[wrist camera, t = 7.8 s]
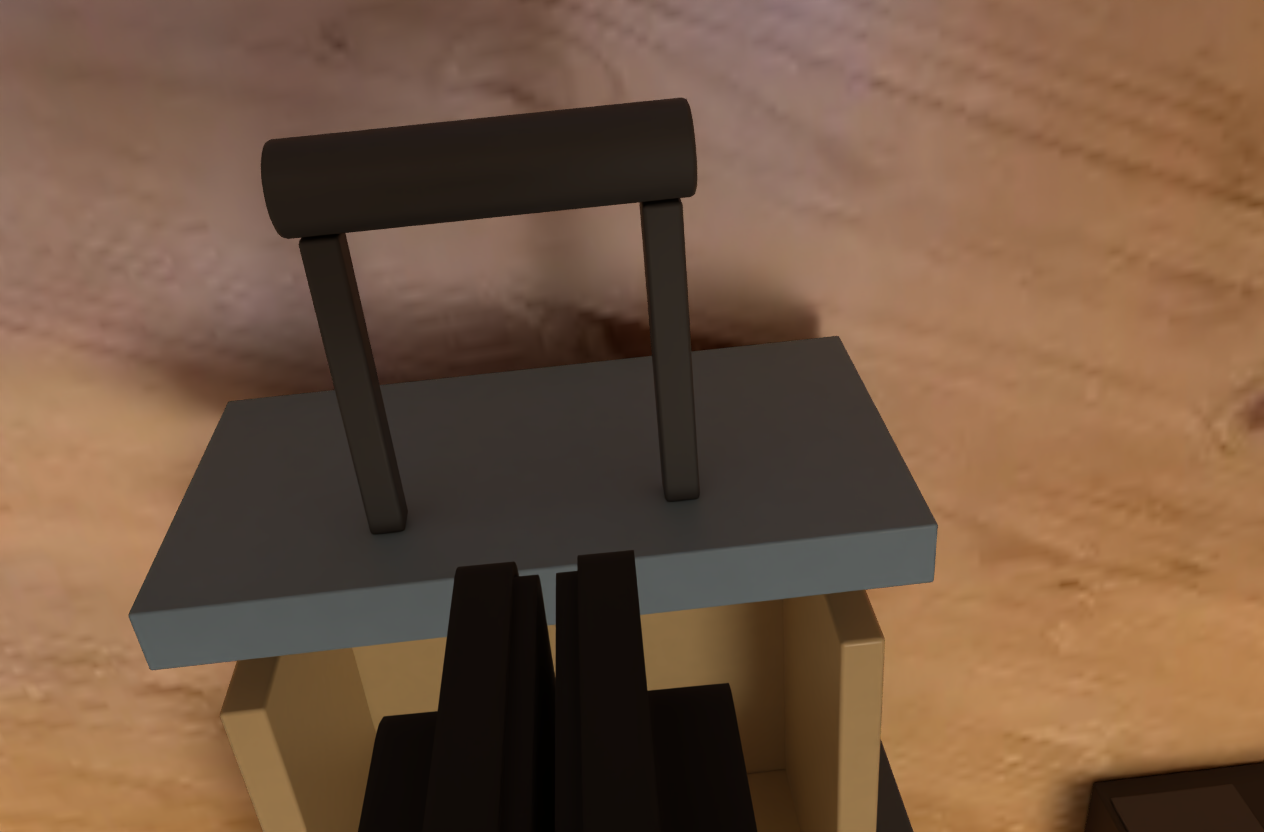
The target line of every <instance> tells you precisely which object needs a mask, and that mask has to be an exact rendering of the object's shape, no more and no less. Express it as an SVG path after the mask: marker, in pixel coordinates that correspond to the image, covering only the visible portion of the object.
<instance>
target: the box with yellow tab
mask: <svg viewBox="0 0 1264 832" xmlns="http://www.w3.org/2000/svg"><path fill="white" fill-rule="evenodd" d="M1085 832H1264V763H1259V764H1250V765H1242V766H1233V767H1225V768H1216V769H1208V770H1199V771H1191V772H1182V773H1174V774H1165V775H1156V776H1148V777H1139V778H1131V779H1122V780H1114V781H1105V782H1097V783H1094V784H1093V789H1092V795H1091V800H1090V805H1089V811H1088V816H1087V821H1086V826H1085Z"/></svg>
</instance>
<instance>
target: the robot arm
mask: <svg viewBox="0 0 1264 832" xmlns="http://www.w3.org/2000/svg"><path fill="white" fill-rule="evenodd" d="M358 832H757V826H756V821H755V815H754V810H753V804H752V799H751V793H750V788H749V783H748V777H747V772H746V766H745V761H744V755H743V750H742V745H741V739H740V734H739V728H738V723H737V717H736V712H735V706H734V701H733V697H732V692H731V688H730V685H729V683H721V684H710V685H700V686H690V687H680V688H669V689H659V690H649V691H648V690H647V680H646V669H645V659H644V649H643V638H642V628H641V617H640V607H639V596H638V586H637V576H636V565H635V555H634V550H627V551H617V552H606V553H596V554H585V555H578V557H577V571H570V572H559V573H556V667H555V672H554V666H553V659H552V653H551V646H550V640H549V633H548V626H547V620H546V613H545V607H544V600H543V593H542V587H541V581H540V577H539V575H528V576H519V573H518V568H517V565H516V563H515V562H514V561H513V562H503V563H492V564H482V565H471V566H461V567H457V569H456V572H455V576H454V584H453V592H452V600H451V608H450V616H449V624H448V632H447V640H446V648H445V655H444V663H443V671H442V679H441V687H440V695H439V703H438V711H433V712H423V713H413V714H403V715H392V716H384V717H383V718H382V720H381V721H380V723H379V726H378V729H377V733H376V737H375V742H374V747H373V753H372V758H371V763H370V769H369V774H368V780H367V785H366V790H365V796H364V801H363V806H362V812H361V817H360V823H359V828H358Z"/></svg>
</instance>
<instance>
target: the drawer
mask: <svg viewBox="0 0 1264 832" xmlns="http://www.w3.org/2000/svg"><path fill="white" fill-rule="evenodd" d="M261 179H262V187H263V193H264V198H265V203H266V207H267V210H268V213H269V216H270V219H271V221H272V224H273V226H274V228H275V229H276V231H277V233H278V234H279V235H280V236H281V237H283V238H287V239H291V238H301V239H300V241H299V248H300V252H301V256H302V260H303V264H304V269H305V273H306V277H307V281H308V285H309V289H310V293H311V297H312V301H313V305H314V309H315V313H316V317H317V321H318V325H319V329H320V333H321V337H322V341H323V345H324V349H325V353H326V357H327V361H328V365H329V369H330V373H331V377H332V381H333V385H334V389H335V390H330V391H321V392H312V393H302V394H293V395H284V396H274V397H265V398H256V399H247V400H237V401H230V402H228V403H227V405H226V408H225V410H224V412H223V414H222V416H221V418H220V420H219V423H218V425H217V427H216V429H215V431H214V433H213V435H212V437H211V440H210V442H209V444H208V446H207V448H206V450H205V452H204V455H203V457H202V459H201V461H200V463H199V465H198V467H197V469H196V472H195V474H194V476H193V478H192V480H191V482H190V484H189V487H188V489H187V491H186V493H185V495H184V497H183V499H182V501H181V504H180V506H179V508H178V510H177V512H176V514H175V516H174V519H173V521H172V523H171V525H170V527H169V529H168V531H167V534H166V536H165V538H164V540H163V542H162V544H161V546H160V548H159V551H158V553H157V555H156V557H155V559H154V561H153V563H152V566H151V568H150V570H149V572H148V574H147V576H146V578H145V580H144V583H143V585H142V587H141V589H140V591H139V593H138V595H137V598H136V600H135V602H134V604H133V606H132V608H131V610H130V612H129V619H130V621H131V624H132V626H133V629H134V631H135V634H136V636H137V638H138V641H139V643H140V646H141V648H142V651H143V653H144V656H145V658H146V661H147V663H148V666H149V668H150V669H151V670H159V669H168V668H177V667H185V666H194V665H203V664H212V663H221V662H230V661H237V663H236V666H235V669H234V672H233V675H232V678H231V681H230V684H229V688H228V691H227V694H226V697H225V700H224V703H223V706H222V709H221V712H220V718H221V721H222V723H223V726H224V729H225V731H226V734H227V737H228V739H229V742H230V745H231V747H232V750H233V753H234V755H235V758H236V761H237V764H238V766H239V769H240V772H241V774H242V777H243V780H244V782H245V785H246V788H247V790H248V793H249V796H250V798H251V801H252V804H253V806H254V809H255V812H256V814H257V817H258V820H259V822H260V825H261V828H262V830H263V832H358V828H359V823H360V817H361V812H362V806H363V801H364V796H365V790H366V785H367V780H368V774H369V769H370V763H371V758H372V753H373V747H374V742H375V737H376V733H377V729H378V726H379V723H380V721H381V720H382V718H383V717H384V716H392V715H403V714H413V713H423V712H433V711H438V703H439V695H440V687H441V679H442V671H443V663H444V655H445V648H446V640H447V632H448V624H449V616H450V608H451V600H452V592H453V584H454V576H455V572H456V569H457V567H461V566H471V565H482V564H492V563H503V562H513V561H514V562H515V563H516V565H517V568H518V573H519V576H528V575H539V577H540V581H541V587H542V593H543V600H544V607H545V613H546V620H547V626H548V633H549V640H550V646H551V653H552V659H553V666H554V672H555V667H556V573H559V572H570V571H577V557H578V555H585V554H596V553H606V552H617V551H627V550H634V555H635V565H636V576H637V586H638V596H639V607H640V617H641V628H642V638H643V649H644V659H645V669H646V680H647V690H648V691H649V690H659V689H669V688H680V687H690V686H700V685H710V684H721V683H729V685H730V688H731V692H732V697H733V701H734V706H735V712H736V717H737V723H738V728H739V734H740V739H741V745H742V750H743V755H744V761H745V766H746V772H747V777H748V783H749V788H750V793H751V799H752V804H753V810H754V815H755V821H756V826H757V832H876V824H877V802H878V781H879V759H880V737H881V715H882V694H883V672H884V650H885V638H884V636H883V633H882V631H881V628H880V626H879V623H878V621H877V618H876V616H875V613H874V610H873V608H872V605H871V603H870V600H869V598H868V595H867V593H866V589H875V588H884V587H893V586H902V585H910V584H919V583H928V582H933V580H934V570H935V556H936V542H937V529H938V525H937V523H936V521H935V519H934V517H933V515H932V513H931V511H930V509H929V507H928V505H927V504H926V502H925V500H924V498H923V496H922V494H921V492H920V490H919V488H918V486H917V484H916V483H915V481H914V479H913V477H912V475H911V473H910V471H909V469H908V467H907V465H906V463H905V462H904V460H903V458H902V456H901V454H900V452H899V450H898V448H897V446H896V444H895V442H894V441H893V439H892V437H891V435H890V433H889V431H888V429H887V427H886V425H885V423H884V422H883V420H882V418H881V416H880V414H879V412H878V410H877V408H876V406H875V404H874V402H873V401H872V399H871V397H870V395H869V393H868V391H867V389H866V387H865V385H864V383H863V381H862V380H861V378H860V376H859V374H858V372H857V370H856V368H855V366H854V364H853V362H852V360H851V359H850V357H849V355H848V353H847V351H846V349H845V347H844V345H843V343H842V341H841V339H840V338H839V336H832V337H823V338H814V339H804V340H795V341H786V342H777V343H767V344H758V345H749V346H739V347H730V348H721V349H711V350H702V351H693V352H691V337H690V321H689V304H688V288H687V271H686V255H685V238H684V222H683V205H682V202H681V199H680V198H685V197H691V196H693V195H694V194H695V192H696V188H697V156H696V143H695V134H694V126H693V119H692V114H691V109H690V106H689V103H688V101H687V99H685V98H673V99H663V100H653V101H643V102H633V103H624V104H614V105H604V106H594V107H584V108H575V109H565V110H555V111H545V112H535V113H526V114H516V115H506V116H496V117H486V118H477V119H467V120H457V121H447V122H437V123H428V124H418V125H408V126H398V127H388V128H379V129H369V130H359V131H349V132H339V133H330V134H320V135H310V136H300V137H290V138H281V139H271V140H269V141H267V142H266V143H265V144H264V146H263V150H262V156H261ZM637 202H639V203H640V215H641V228H642V240H643V252H644V265H645V277H646V289H647V302H648V314H649V326H650V339H651V351H652V356H646V357H637V358H628V359H618V360H609V361H600V362H591V363H581V364H572V365H563V366H553V367H544V368H535V369H525V370H516V371H507V372H498V373H488V374H479V375H470V376H460V377H451V378H442V379H432V380H423V381H414V382H405V383H395V384H386V385H379V380H378V376H377V371H376V367H375V362H374V358H373V354H372V349H371V345H370V340H369V336H368V331H367V327H366V323H365V318H364V314H363V309H362V305H361V300H360V296H359V291H358V287H357V283H356V278H355V274H354V269H353V265H352V260H351V256H350V251H349V247H348V243H347V238H346V234H345V233H349V232H358V231H368V230H378V229H387V228H397V227H406V226H416V225H425V224H435V223H445V222H454V221H464V220H473V219H483V218H493V217H502V216H512V215H521V214H531V213H541V212H550V211H560V210H569V209H579V208H589V207H598V206H608V205H617V204H627V203H637Z"/></svg>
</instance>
